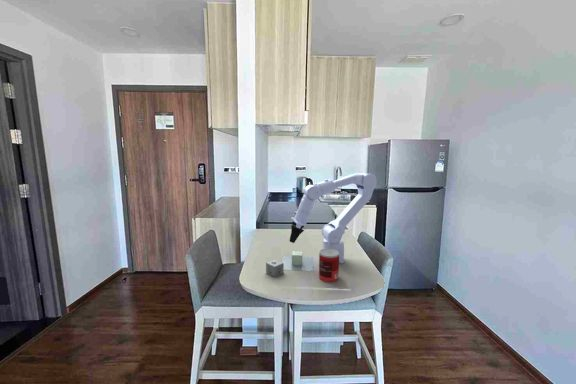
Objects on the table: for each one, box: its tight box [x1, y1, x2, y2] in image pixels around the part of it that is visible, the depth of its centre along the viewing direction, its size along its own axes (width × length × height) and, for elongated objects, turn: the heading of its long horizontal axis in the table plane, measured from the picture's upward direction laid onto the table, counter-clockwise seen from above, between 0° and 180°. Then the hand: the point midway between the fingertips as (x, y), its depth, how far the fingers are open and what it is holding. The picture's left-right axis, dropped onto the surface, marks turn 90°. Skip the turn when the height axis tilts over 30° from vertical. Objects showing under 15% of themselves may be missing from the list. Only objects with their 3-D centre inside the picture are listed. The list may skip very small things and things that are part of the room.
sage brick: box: [291, 250, 304, 265], centre depth 119 cm, size 4×4×4 cm
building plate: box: [281, 255, 314, 272], centre depth 119 cm, size 14×14×1 cm
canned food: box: [318, 248, 340, 283], centre depth 106 cm, size 8×8×11 cm
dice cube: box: [265, 259, 285, 278], centre depth 110 cm, size 5×5×5 cm
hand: (292, 240), depth 119 cm, fingers open, 7 cm apart
